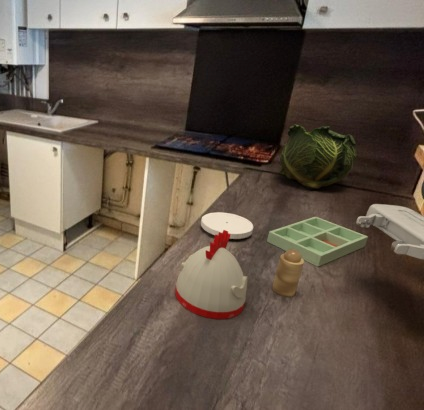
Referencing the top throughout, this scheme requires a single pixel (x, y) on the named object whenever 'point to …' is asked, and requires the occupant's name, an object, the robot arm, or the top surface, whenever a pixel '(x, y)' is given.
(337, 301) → the top surface
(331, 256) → the grid
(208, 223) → the plastic lid
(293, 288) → the beige toy figure
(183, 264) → the kitchen timer
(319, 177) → the cabbage
